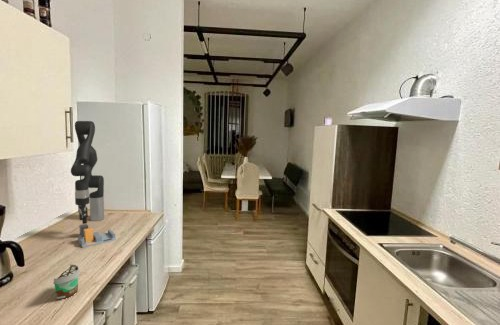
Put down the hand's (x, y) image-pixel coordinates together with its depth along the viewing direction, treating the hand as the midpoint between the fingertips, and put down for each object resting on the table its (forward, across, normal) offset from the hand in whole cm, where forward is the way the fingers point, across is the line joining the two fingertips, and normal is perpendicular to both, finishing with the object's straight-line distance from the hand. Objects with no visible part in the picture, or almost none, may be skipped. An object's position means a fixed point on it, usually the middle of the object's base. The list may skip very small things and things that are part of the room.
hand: (83, 221), depth 170 cm
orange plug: (+9, +12, 0) cm, 15 cm away
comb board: (+10, +12, +5) cm, 16 cm away
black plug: (+10, 0, 0) cm, 10 cm away
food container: (+11, +63, -17) cm, 66 cm away
